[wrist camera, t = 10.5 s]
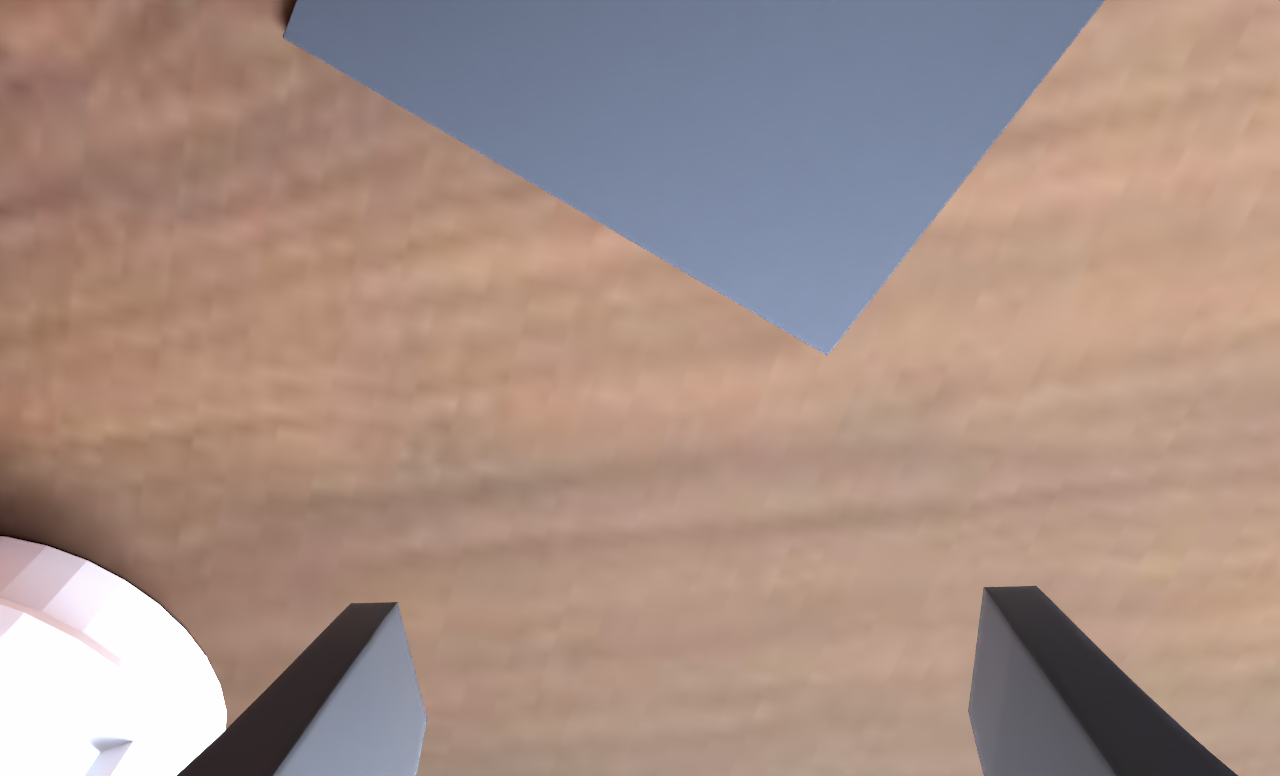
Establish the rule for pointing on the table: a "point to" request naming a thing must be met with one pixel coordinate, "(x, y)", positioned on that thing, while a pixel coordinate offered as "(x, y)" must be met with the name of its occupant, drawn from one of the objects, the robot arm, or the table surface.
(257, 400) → the table surface
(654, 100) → the desk mat
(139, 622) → the flag stand
